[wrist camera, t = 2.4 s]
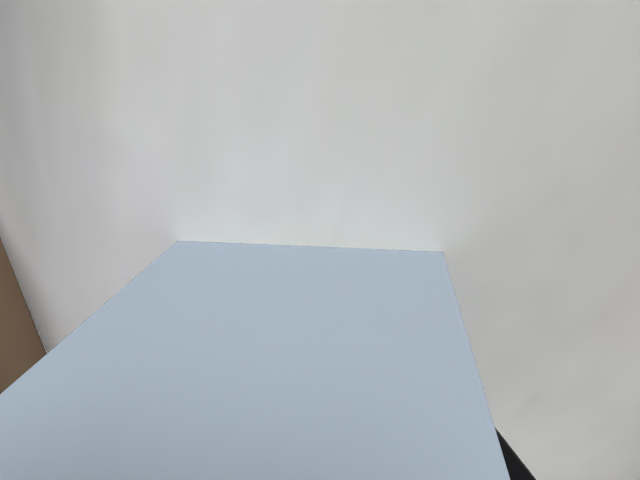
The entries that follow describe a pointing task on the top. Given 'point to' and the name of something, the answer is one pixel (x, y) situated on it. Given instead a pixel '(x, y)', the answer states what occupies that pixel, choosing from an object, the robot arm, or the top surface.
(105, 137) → the top surface
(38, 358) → the walnut block
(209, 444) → the grey cube
